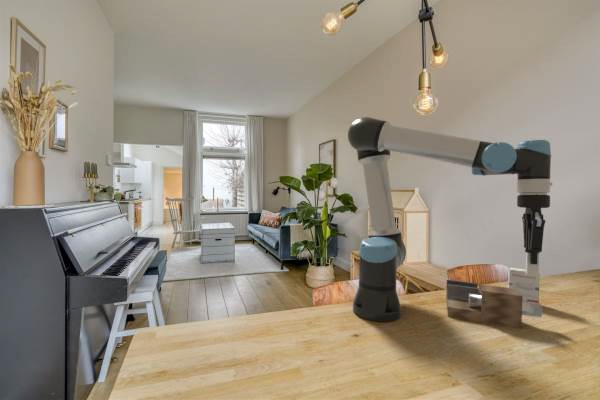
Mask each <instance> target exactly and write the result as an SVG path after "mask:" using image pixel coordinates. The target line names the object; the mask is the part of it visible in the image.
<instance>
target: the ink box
mask: <svg viewBox="0 0 600 400" xmlns="http://www.w3.org/2000/svg"><path fill="white" fill-rule="evenodd" d="M507 273H508V275H507V276H508V278H507V279H508V280H507V288H514V289H517V290H518V291H519V293H520V294H521V295H522V296H523V300H522V301H528V302H535V303H540V280H541V278H540V276H541V274H540V273H539V276H538V275H527V274H526V269H524V268H517V267H516V268H515V267H508V272H507Z"/></svg>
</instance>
